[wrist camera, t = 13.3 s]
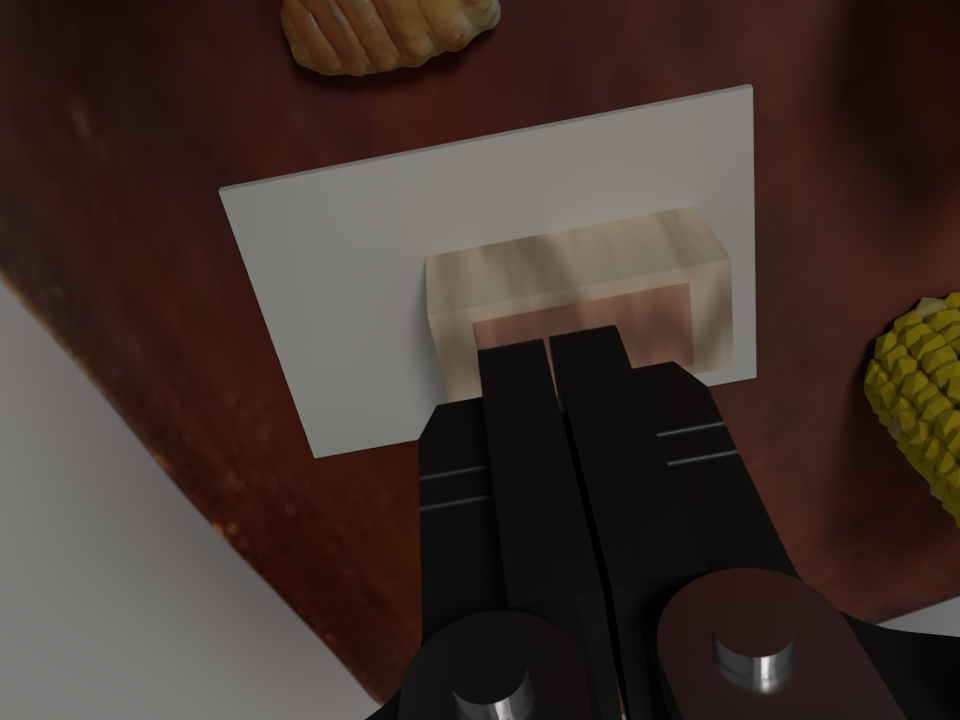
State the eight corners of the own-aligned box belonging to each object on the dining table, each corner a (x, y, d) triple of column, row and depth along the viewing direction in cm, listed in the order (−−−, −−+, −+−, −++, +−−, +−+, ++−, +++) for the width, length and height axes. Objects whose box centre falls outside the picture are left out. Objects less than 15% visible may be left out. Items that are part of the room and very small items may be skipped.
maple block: (427, 319, 42) (732, 261, 41) (425, 256, 47) (695, 205, 47) (452, 422, 45) (735, 370, 45) (447, 352, 51) (701, 305, 50)
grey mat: (220, 187, 45) (218, 191, 45) (749, 83, 44) (752, 87, 44) (315, 452, 54) (314, 458, 54) (753, 372, 53) (756, 377, 53)
